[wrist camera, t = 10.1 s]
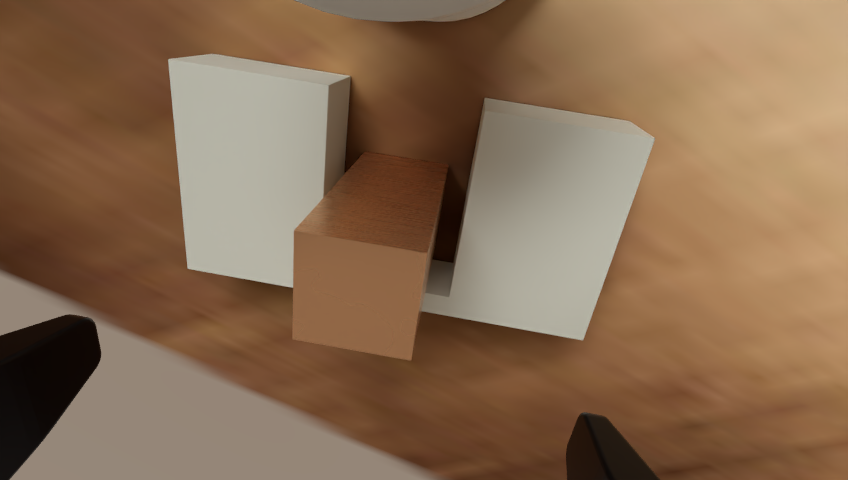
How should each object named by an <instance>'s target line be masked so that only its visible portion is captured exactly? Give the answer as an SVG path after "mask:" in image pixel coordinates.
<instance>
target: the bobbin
mask: <svg viewBox="0 0 848 480" xmlns="http://www.w3.org/2000/svg"><path fill="white" fill-rule="evenodd" d="M295 1H297V2H300V3H302V4H305V5H308V6H310V7H313V8H315V9H318V10H321V11H323V12H327V13H332V14H336V15H340V16H345V17H349V18H353V19H361V20H373V21H385V22H404V21H420V20H422V21H433V22H446V21H457V20H462V19H467V18H471V17H473V16H476V15H479V14H482V13H484V12H486V11H488V10H490V9H492V8H494V7H496V6H498V5H499V4H501V3H502V2H504V1H505V0H295Z"/></svg>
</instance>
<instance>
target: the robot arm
mask: <svg viewBox="0 0 848 480" xmlns="http://www.w3.org/2000/svg"><path fill="white" fill-rule="evenodd" d="M100 358H101V349H100V344H99V339H98V334H97V329H96V325H95V322H94V321H93V320H92V319H90V318H88V317H83V316H77V315H64V316H61V317H58V318H54V319H51V320H48V321H45V322H42V323H39V324H36V325H33V326H29V327H26V328H23V329H20V330H17V331H14V332H11V333H7V334H4V335H1V336H0V480H9V479H10V478H11V477H12V476H13V475H14V474H15V473H16V472H17V470H18V469H19V468H20V467H21V466H22V465H23V463H24V462H25V461H26V460H27V459H28V458H29V456H30V455H31V454H32V453H33V452H34V451H35V450H36V448H37V447H38V446H39V445H40V444H41V442H42V441H43V440H44V439H45V437H46V436H47V434H48V433H49V432H50V431H51V429H52V428H53V427H54V425H55V424H56V423H57V421H58V420H59V419H60V417H61V416H62V414H63V413H64V412H65V410H66V409H67V407H68V406H69V405H70V403H71V402H72V401H73V399H74V398H75V396H76V395H77V394H78V392H79V391H80V389H81V388H82V387H83V385H84V384H85V383H86V381H87V380H88V379H89V377H90V376H91V374H92V373H93V372H94V370H95V369H96V367H97V366H98V364H99V362H100ZM566 465H567V480H660V479H659V478H658V477H657V475H656V474H655V473H654V472H653V471H652V470H651V468H650V467H649V466H648V465H647V464H646V463H645V461H644V460H643V459H642V458H641V457H640V456H639V455H638V453H637V452H636V451H635V450H634V449H633V448H632V446H631V445H630V444H629V443H628V442H627V441H626V439H625V438H624V437H623V436H622V435H621V434H620V433H619V431H618V430H617V429H616V428H615V427H614V426H613V424H612V423H611V422H610V421H609V420H608V419H607V418H606V417H604V416H602V415H597V414H591V413H586V412H584V413H581V414H580V415H579V417H578V419H577V421H576V424H575V427H574V429H573V432H572V434H571V437H570V439H569V442H568V445H567V451H566Z"/></svg>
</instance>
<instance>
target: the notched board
mask: <svg viewBox="0 0 848 480" xmlns="http://www.w3.org/2000/svg"><path fill="white" fill-rule="evenodd" d="M168 63H169V73H170V84H171V95H172V106H173V116H174V127H175V138H176V148H177V159H178V170H179V180H180V191H181V202H182V213H183V223H184V234H185V245H186V255H187V266H188V269H192V270H198V271H203V272H209V273H214V274H220V275H225V276H231V277H236V278H242V279H247V280H253V281H258V282H264V283H269V284H275V285H281V286H286V287H292V288H293V255H294V230H295V229H296V228H297V226H298V225H299V224H300V223H301V222H302V221H303V220H304V219H305V218H306V216H307V215H308V214H309V213H310V212H311V211H312V210H313V209H314V208H315V206H316V205H317V204H318V203H319V202H320V201H321V200H322V199H323V198H324V196H325V195H326V194H327V193H328V192H329V191H330V190H331V189H332V188H333V186H334V185H335V184H336V183H337V182H338V181H339V180H340V179H341V178H342V176H343V175H344V170H345V155H346V140H347V125H348V111H349V96H350V81H351V76H347V75H341V74H335V73H329V72H323V71H316V70H310V69H304V68H298V67H292V66H285V65H279V64H273V63H267V62H261V61H254V60H248V59H242V58H236V57H230V56H223V55H217V54H207V55H199V56H190V57H182V58H173V59H168ZM654 140H655V138H654V137H652V136H651V135H649V134H648V133H646V132H645V131H643V130H642V129H641V128H639V127H638V126H636V125H635V124H633V123H632V122H630V121H626V120H620V119H614V118H607V117H601V116H595V115H589V114H583V113H576V112H570V111H564V110H558V109H552V108H545V107H539V106H533V105H527V104H521V103H515V102H508V101H502V100H496V99H490V98H484V104H483V109H482V114H481V119H480V125H479V130H478V135H477V141H476V146H475V151H474V156H473V162H472V167H471V172H470V177H469V183H468V188H467V193H466V199H465V204H464V209H463V214H462V220H461V225H460V230H459V235H458V241H457V246H456V251H455V257H454V262H453V263H450V262H445V261H439V260H433V259H432V263H431V268H430V273H429V278H428V283H427V287H426V292H425V297H424V302H423V306H422V311H424V312H429V313H435V314H440V315H446V316H451V317H457V318H462V319H468V320H473V321H479V322H484V323H490V324H495V325H501V326H506V327H512V328H517V329H523V330H528V331H534V332H539V333H545V334H550V335H556V336H561V337H567V338H572V339H578V340H583V339H584V336H585V333H586V331H587V328H588V325H589V322H590V319H591V317H592V314H593V311H594V308H595V305H596V303H597V300H598V297H599V294H600V291H601V289H602V286H603V283H604V280H605V277H606V275H607V272H608V269H609V266H610V263H611V261H612V258H613V255H614V252H615V249H616V247H617V244H618V241H619V238H620V235H621V233H622V230H623V227H624V224H625V221H626V219H627V216H628V213H629V210H630V207H631V205H632V202H633V199H634V196H635V193H636V191H637V188H638V185H639V182H640V179H641V177H642V174H643V171H644V168H645V165H646V163H647V160H648V157H649V154H650V151H651V149H652V146H653V143H654Z"/></svg>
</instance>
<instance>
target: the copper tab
mask: <svg viewBox="0 0 848 480" xmlns="http://www.w3.org/2000/svg"><path fill="white" fill-rule="evenodd" d="M447 171H448V165H447V164H441V163H435V162H428V161H422V160H416V159H410V158H404V157H398V156H391V155H385V154H379V153H373V152H367V151H365V152H364V153H363V154H362V155H361V156H360V158H359V159H358V160H357V161H356V162H355V163H354V164H353V165H352V166H351V168H350V169H349V170H348V171H347V172H346V173H345V174H344V175H343V176H342V178H341V179H340V180H339V181H338V182H337V183H336V184H335V185H334V186H333V188H332V189H331V190H330V191H329V192H328V193H327V194H326V195H325V196H324V198H323V199H322V200H321V201H320V202H319V203H318V204H317V205H316V206H315V208H314V209H313V210H312V211H311V212H310V213H309V214H308V215H307V216H306V218H305V219H304V220H303V221H302V222H301V223H300V224H299V225H298V226H297V228H296V229H295V230H294V255H293V335H292V339H294V340H300V341H305V342H311V343H316V344H322V345H327V346H333V347H338V348H344V349H349V350H355V351H360V352H366V353H371V354H377V355H382V356H388V357H393V358H399V359H404V360H410V361H411V359H412V354H413V349H414V345H415V340H416V335H417V330H418V325H419V321H420V316H421V311H422V306H423V302H424V297H425V292H426V287H427V283H428V278H429V273H430V268H431V263H432V259H433V254H434V249H435V244H436V239H437V233H438V227H439V221H440V215H441V208H442V202H443V196H444V190H445V183H446V177H447Z"/></svg>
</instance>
